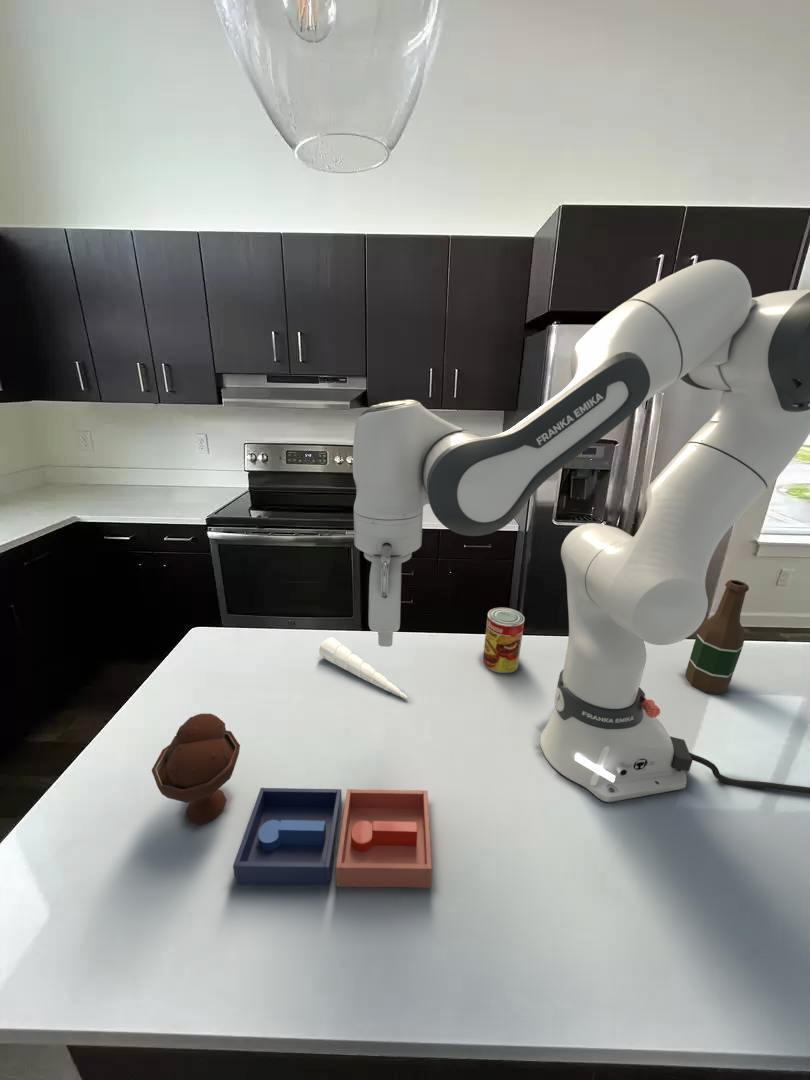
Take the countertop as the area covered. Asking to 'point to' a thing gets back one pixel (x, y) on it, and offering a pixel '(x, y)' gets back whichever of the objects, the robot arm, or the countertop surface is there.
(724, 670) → the beer bottle
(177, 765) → the ice cream bowl
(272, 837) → the blue elongated piece
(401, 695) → the unicorn horn
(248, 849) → the blue bin
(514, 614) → the canned food
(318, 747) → the countertop surface
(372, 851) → the red bin
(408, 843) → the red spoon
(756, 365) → the robot arm
